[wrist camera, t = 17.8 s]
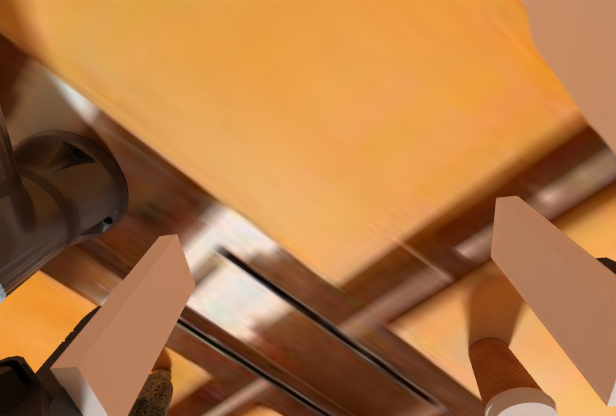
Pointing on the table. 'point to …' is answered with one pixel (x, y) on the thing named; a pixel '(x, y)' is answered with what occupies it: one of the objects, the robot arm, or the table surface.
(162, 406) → the cup
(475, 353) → the disposable coffee cup
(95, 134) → the table surface
